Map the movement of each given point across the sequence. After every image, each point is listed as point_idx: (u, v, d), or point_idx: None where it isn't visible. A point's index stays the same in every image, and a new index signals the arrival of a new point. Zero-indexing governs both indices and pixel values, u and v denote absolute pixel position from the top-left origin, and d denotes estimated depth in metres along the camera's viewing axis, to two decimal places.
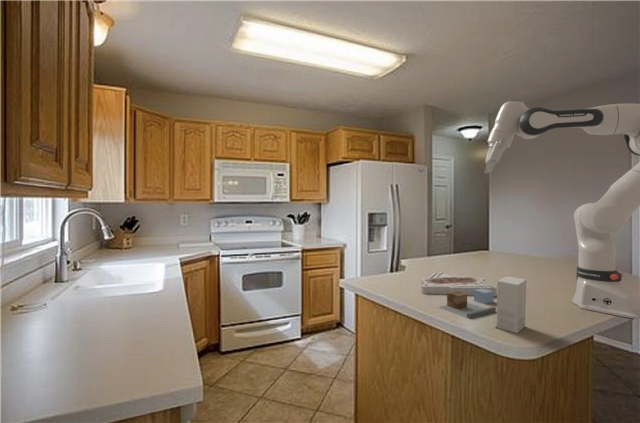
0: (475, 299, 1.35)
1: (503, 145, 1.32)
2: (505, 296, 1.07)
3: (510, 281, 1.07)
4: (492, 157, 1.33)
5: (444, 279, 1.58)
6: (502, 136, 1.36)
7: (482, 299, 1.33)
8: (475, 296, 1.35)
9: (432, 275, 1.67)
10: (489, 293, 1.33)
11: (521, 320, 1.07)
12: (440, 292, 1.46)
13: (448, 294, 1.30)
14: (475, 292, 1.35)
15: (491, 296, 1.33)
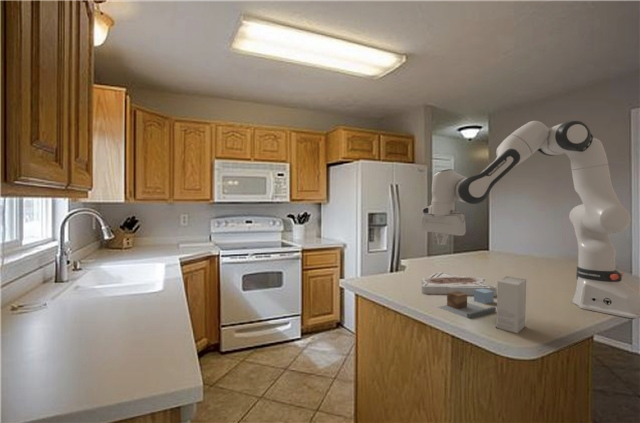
0: (475, 299, 1.35)
1: None
2: (505, 296, 1.07)
3: (510, 281, 1.07)
4: (460, 233, 1.28)
5: (444, 279, 1.58)
6: (451, 207, 1.33)
7: (482, 299, 1.33)
8: (475, 296, 1.35)
9: (432, 275, 1.67)
10: (489, 293, 1.33)
11: (521, 320, 1.07)
12: (440, 292, 1.46)
13: (448, 294, 1.30)
14: (475, 292, 1.35)
15: (491, 296, 1.33)
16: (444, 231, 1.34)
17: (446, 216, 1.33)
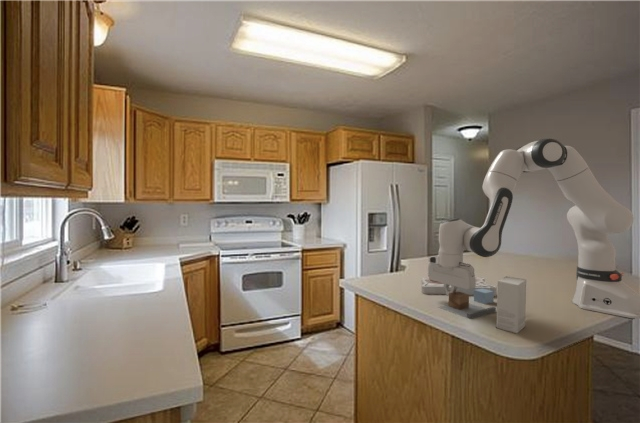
0: (475, 299, 1.35)
1: None
2: (505, 296, 1.07)
3: (510, 281, 1.07)
4: (470, 288, 1.23)
5: None
6: (460, 259, 1.28)
7: (482, 299, 1.33)
8: (475, 296, 1.35)
9: None
10: (489, 293, 1.33)
11: (521, 320, 1.07)
12: (440, 292, 1.46)
13: (450, 295, 1.29)
14: (475, 292, 1.35)
15: (491, 296, 1.33)
16: (453, 283, 1.28)
17: (454, 268, 1.28)
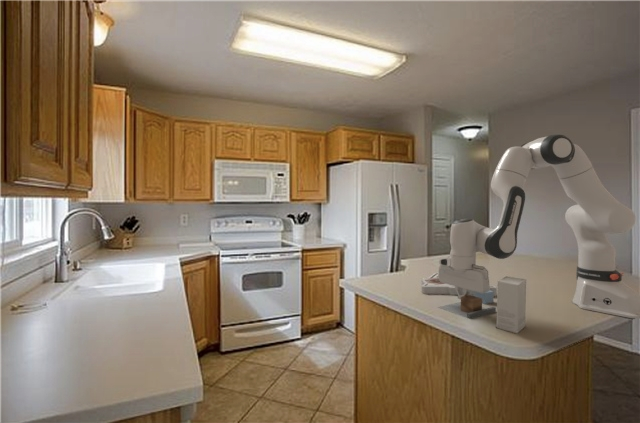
0: None
1: None
2: (505, 296, 1.07)
3: (510, 281, 1.07)
4: (484, 291, 1.18)
5: None
6: (473, 261, 1.23)
7: (482, 299, 1.33)
8: (475, 296, 1.35)
9: (432, 275, 1.67)
10: (489, 293, 1.33)
11: (521, 320, 1.07)
12: (440, 292, 1.46)
13: (462, 298, 1.24)
14: (475, 292, 1.35)
15: (491, 296, 1.33)
16: (465, 286, 1.23)
17: (467, 270, 1.23)
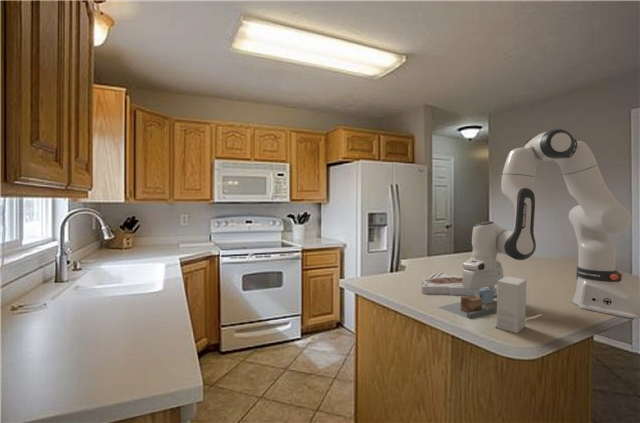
0: None
1: None
2: (505, 296, 1.07)
3: (510, 281, 1.07)
4: None
5: (444, 279, 1.58)
6: None
7: (482, 299, 1.33)
8: None
9: (432, 275, 1.67)
10: (489, 293, 1.33)
11: (521, 320, 1.07)
12: (440, 292, 1.46)
13: (462, 298, 1.24)
14: None
15: (491, 296, 1.33)
16: (492, 283, 1.34)
17: None
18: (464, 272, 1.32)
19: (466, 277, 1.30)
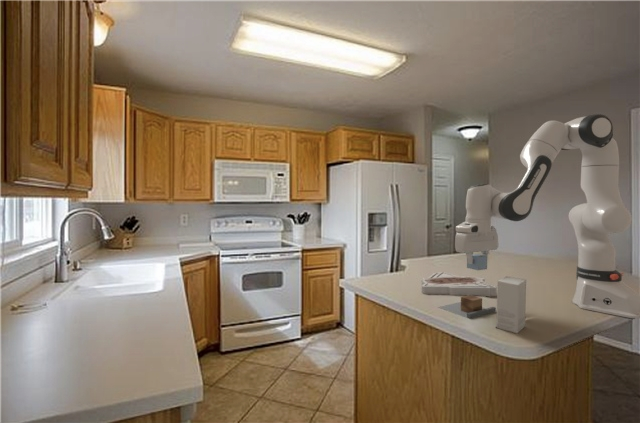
0: (468, 264, 1.30)
1: None
2: (505, 296, 1.07)
3: (510, 281, 1.07)
4: None
5: (444, 279, 1.58)
6: None
7: (475, 264, 1.28)
8: None
9: (432, 275, 1.67)
10: (482, 257, 1.28)
11: (521, 320, 1.07)
12: (440, 292, 1.46)
13: (462, 298, 1.24)
14: None
15: (485, 261, 1.28)
16: (486, 248, 1.29)
17: (488, 232, 1.29)
18: (457, 235, 1.27)
19: (458, 240, 1.25)
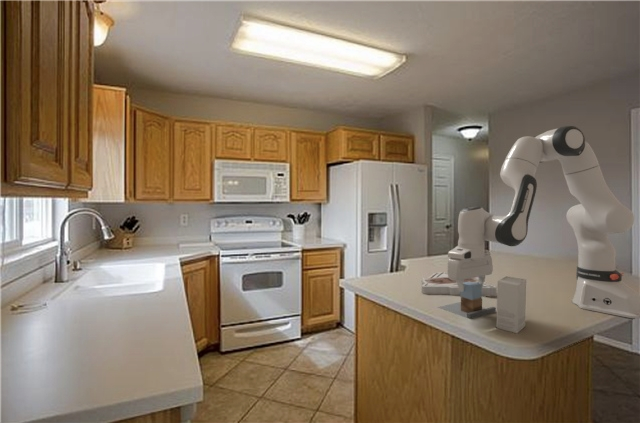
0: (462, 293, 1.24)
1: None
2: (505, 296, 1.07)
3: (510, 281, 1.07)
4: None
5: (444, 279, 1.58)
6: None
7: (468, 293, 1.22)
8: None
9: (432, 275, 1.67)
10: (476, 286, 1.21)
11: (521, 320, 1.07)
12: (440, 292, 1.46)
13: (462, 298, 1.24)
14: None
15: (479, 289, 1.22)
16: (480, 274, 1.23)
17: (481, 257, 1.23)
18: (449, 261, 1.20)
19: (451, 267, 1.19)
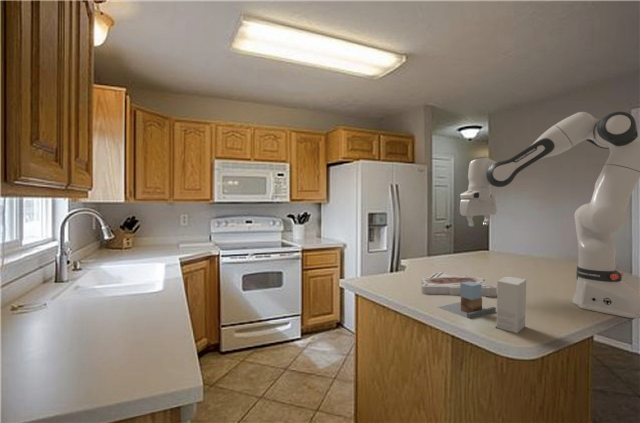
0: (462, 293, 1.24)
1: None
2: (505, 296, 1.07)
3: (510, 281, 1.07)
4: None
5: (444, 279, 1.58)
6: None
7: (468, 293, 1.22)
8: (462, 289, 1.24)
9: (432, 275, 1.67)
10: (476, 286, 1.21)
11: (521, 320, 1.07)
12: (440, 292, 1.46)
13: (462, 298, 1.24)
14: (462, 285, 1.24)
15: (479, 289, 1.22)
16: (486, 212, 1.51)
17: (487, 199, 1.52)
18: (461, 201, 1.48)
19: (463, 205, 1.47)
